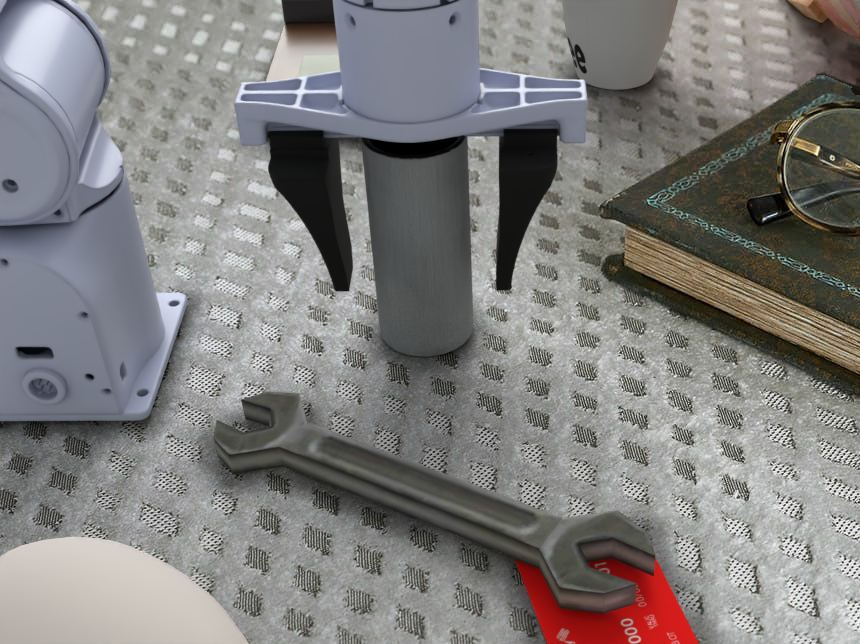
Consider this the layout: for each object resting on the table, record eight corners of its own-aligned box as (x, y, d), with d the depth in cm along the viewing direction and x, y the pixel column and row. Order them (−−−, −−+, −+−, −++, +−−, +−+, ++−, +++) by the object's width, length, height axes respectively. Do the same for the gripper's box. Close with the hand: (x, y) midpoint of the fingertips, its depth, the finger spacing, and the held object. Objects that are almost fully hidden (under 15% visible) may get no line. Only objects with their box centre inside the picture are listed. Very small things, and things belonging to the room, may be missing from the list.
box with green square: (426, 135, 72) (423, 77, 70) (262, 136, 72) (252, 79, 70) (435, 45, 82) (433, -8, 79) (290, 46, 82) (283, -7, 79)
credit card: (512, 552, 47) (512, 551, 47) (639, 526, 48) (639, 525, 48) (577, 723, 41) (577, 722, 41) (721, 689, 42) (721, 688, 42)
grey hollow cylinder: (450, 294, 60) (441, 99, 53) (489, 342, 57) (484, 142, 50) (366, 317, 59) (345, 120, 52) (401, 368, 56) (383, 166, 49)
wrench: (615, 614, 43) (189, 439, 50) (615, 642, 44) (200, 467, 51) (673, 522, 45) (260, 369, 53) (671, 551, 47) (268, 397, 54)
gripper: (586, -56, 49) (575, 232, 59) (235, -53, 49) (280, 234, 59) (595, 12, 44) (581, 316, 54) (204, 15, 44) (259, 317, 54)
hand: (423, 279), depth 56 cm, fingers open, 7 cm apart
